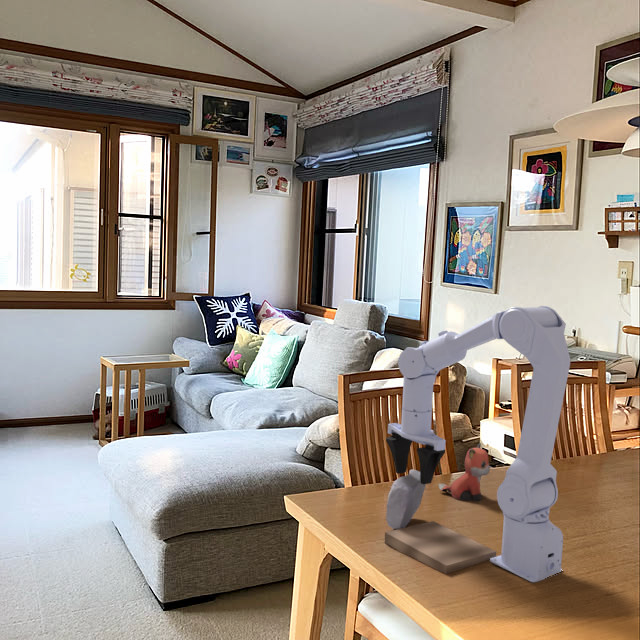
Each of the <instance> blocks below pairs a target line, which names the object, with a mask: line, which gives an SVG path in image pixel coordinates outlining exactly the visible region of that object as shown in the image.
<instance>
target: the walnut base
mask: <svg viewBox="0 0 640 640" xmlns="http://www.w3.org/2000/svg"><path fill="white" fill-rule="evenodd" d="M384 544H385V545H387V546H390V547H391V548H393V549H395V550H396V551H398V552H400V553H402V554H404V555H407V556H408V557H410V558H412V559H414V560H417V561H419V562H420V563H423V564H424V565H426V566H428V567H431V568H433V569H435V570H437V571H438V572H440V573H442V574H445V575H448V574H451V573H454V572H457V571H459V570H462V569H465V568H469V567H471V566H475V565H478V564H481V563H484V562H487V561H490V560H489V559H490V558H493V557H496V556H497V551H496V550H494V549H492V548H490V547H488V546H486V545H484V544H482V543H481V542H478V541H476V540H473V539H471V538H469V537H467V536H466V535H463V534H462V533H460V532H457V531H455V530H453V529H451V528H449V527H446V526H445V525H442V524H440V523H439V522H436V521H434V520H433V521H427V522H423V523H420V524H414V525H411V526H406V527H405V528H401V529H392V530H389V531H385V533H384Z"/></svg>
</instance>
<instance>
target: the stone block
mask: <svg viewBox="0 0 640 640" xmlns="http://www.w3.org/2000/svg"><path fill="white" fill-rule="evenodd" d="M426 486H427V484H421V480H420V471H419V470H416V469H409V473H408V474H407V475H404V476H400V477H399V478H397V479H396V480H394V481H393V483H392V485H391V487H390V491H389V492H388V494H387V495H388V496H387V501H386V515H385V518H386V523H387V525H388V527H390V528H391V529H392V530H397V529H401V528H406V527H408V526H407V525H408V524H409V523H410V521H411V520H412V518H413V517H414V515H415V514H416V512H417V511H418V509H419V508H420V505H421V504H422V499H423V496H424V492H425V489H426Z"/></svg>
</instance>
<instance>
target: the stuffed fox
mask: <svg viewBox="0 0 640 640" xmlns="http://www.w3.org/2000/svg"><path fill="white" fill-rule="evenodd" d="M476 445H477V446H476V447H472V448H469V449H468V451H467V452H466V455H465V459H464V469H465V472H464V473H463V474H462V475H460V476H459V477H458V478H456V479H455V480H454V481H452V483H451V484H450V485H447V484H446V483H438V484H437V485H438V488H439V490H440V491H441V492H444V493H447V494H449V495H450V494H451V496H452V498H453V499H455V500H461V501H465V502H466V501H471V502H472V501H473V502H481V501H482V500H483V499H482V491H481V482H480V481H481V480H482V479H481V478H482V476H487V475H488V474H489V473H490V469H491V468H490V463H489V453H488V452H487V451H486V450H485V449H483V448H481V446H482V443H481V442H479V443H478V444H476Z"/></svg>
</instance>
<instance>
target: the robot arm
mask: <svg viewBox="0 0 640 640" xmlns="http://www.w3.org/2000/svg"><path fill="white" fill-rule="evenodd" d="M566 325H567V324H566V322H565V321H564V320H563V318H562V317H561V316H560V314H559V313H558V312H557V310H555V309H554V308H552V307H550V306H546V305H540V306H535V307H521V306H512V307H510V308H507V309H506V310H503V311H502V310H501V311H498V312H496V313H494V314H493V315H492V316H490V317H488V318H486V319H485V320H483V321H480V322H479V323H477V324H475V325H472V327H470V328H468V329H466V330H464V331H462V332H461V333H458V332H455V331H448V330H442V331H440V332H438V333H437V335H438V336H437V337H435V338H433V339H431V340H429V341H428V340H423V341H421V342H420V345H419V346H418V347H412V346H411V347H406V348H405V349H404V350H402V352H401V353H400V354H399V356H398V360H397V365H398V368H399V371H400V373H401V375H402V376H403V385H402V387H403V389H402V405H401V424H400V423H397V422H393V423H388V424H387V425H388V426H387V434H389V435H390V436H387V437H386V439H385V442H386V443H387V446H388V447H389V449H390V453H391V456H392V460H393V465H394V469H395V470H394V471H395V473H396V474H404V473H407V469H408V463H409V454H410V450H411V446H412V444H413V442H415V443H418V444H421V445H423V446H424V447H417V448H416V453H417V455H418V456H417V457H418V459H419V460H418V461H419V467H420V468H419V469H420V471H419V472H420V480H421V484H426V485H429V484H432V481H433V478H434V475H435V472H436V469H437V467H438V465H439V463H440V461H441V459H442V458H443V456H444V455H445V453H446V442H447V440H446V439H444V438H443V437H440V436H438V435H437V434H435V432H434V430H433V429H432V419H433V418H432V416H433V415H432V413H433V398H434V396H433V395H434V385H435V383H436V377H437V375H438V374H439V372H440V371H441V370H443V369H446V368H447V367H450V366H452V365H455V364H457V363H459V362H461V361H463V360H464V359H465V358H466V357H467V352H468V350H471V349H475V348H477V347H478V346H481V345H484V344H487V343H489V342H491V341H494V340H504V341H505V342H506V343H507V344H508V345H510V346H511V347H512V348H514V349H515V350H516V351H518V352H519V353H520V354H521V355H522V356H524V357H525V358H526V360H527V361H528V362H529V363H530V365H531V366H532V368H533V370H532V376H531V380H530V387H529V391H528V392H529V393H528V396H527V401H526V407H525V411H524V417H523V422H522V429H521V433H520V437H519V438H520V439H519V445H518V449H517V453H516V454H517V455H516V457H515V459H514V461H513V462H512V463H511V464H510V466H509V467H508V468H507V470H506V473H505V477H504V479H503V481H502V482H501V484H500V485H499V486H498V488H497V490H496V500H497V504H498V506H499V509H500V510H501V512H502V516H503V522H502V523H503V528H502V539H501V540H502V541H501V551H500V552H501V554H500V555H496V557H493V558H490V560H489V562H490V563H492V564H494V565H496V566H499V567H501V568H502V569H504V570H506V571H509V572H510V573H513V574H514V575H517V576H518V577H521V578H522V579H524V580H527V581H529V582H530V583H537V582H541V581H542V580H546V579H548V578H547V577H549V576H551V575H554V574H556V573H559V572H561V570H562V569H563V568H562V559H563V558H562V557H563V545H564V535H563V532H562V530H561V529H560V528H559V527H558V526H556V525H555V524H554V523H552V521H551V520H550V519H549V517H550V509H551V507H552V506H554V505H555V504H556V502H557V500H558V498H559V497H558V496H559V489H558V485H557V475H558V471H557V470H556V468H555V467H554V466H553V465H552V464H551V463H552V462H551V461H552V456H553V451H554V447H555V442H556V438H557V431H558V427H559V424H560V417H561V412H562V407H563V403H564V397H565V393H566V392H565V391H566V387H567V383H568V382H567V381H568V377H569V372H570V366H571V357H570V353H569V349H568V345H567V340H566V335H565V331H566V330H565V329H566ZM563 570H564V569H563ZM563 570H562V571H563ZM559 574H560V573H559ZM556 575H557V574H556ZM554 576H555V575H554ZM551 577H552V576H551ZM545 578H546V579H545ZM549 578H550V577H549Z"/></svg>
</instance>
